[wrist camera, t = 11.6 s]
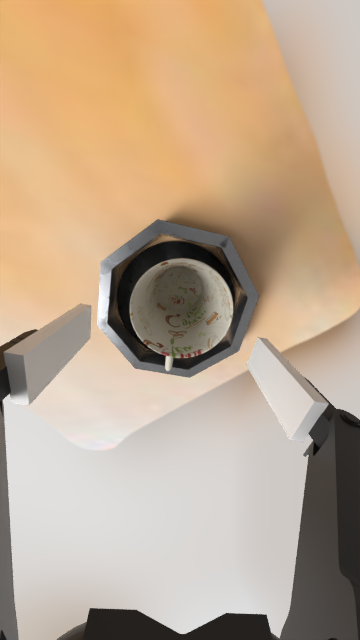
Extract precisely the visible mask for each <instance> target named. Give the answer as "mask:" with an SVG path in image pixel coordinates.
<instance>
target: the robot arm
mask: <svg viewBox="0 0 360 640" xmlns="http://www.w3.org/2000/svg"><path fill="white" fill-rule="evenodd" d="M90 330H91V305H86V304H79V305H78V306H76V307H75V308H73V309H71V310H70V311H68V312H67V313H65V314H63V315H62V316H60V317H59V318H57V319H55V320H54V321H52V322H51V323H49V324H47V325H46V326H44V327H43V328H41V329H40V330H35V329H34V330H31V331H28V332H25V333H23V334H21V335H19V336H18V337H16V338H14V339H12V340H11V341H10V342H7V343H6V344H4V345H2V346H0V640H18V630H17V619H16V611H15V604H14V591H13V590H14V589H13V571H12V553H11V535H10V516H9V498H8V480H7V461H6V445H5V444H6V443H5V427H4V426H5V425H4V406H3V401H2V400H3V399H4V398H5V397H6V396H7V395H8V394H10V396H11V402H12V403H17V404H24V405H30V404H31V403H32V402H33V401H34V399H35V398H36V397H37V396H38V395H39V394H40V393H41V392H42V391H43V390H44V388H45V387H46V386H47V385H48V384H49V383H50V382H51V381H52V380H53V379H54V377H55V376H56V375H57V374H58V373H59V372H60V371H61V370H62V369H63V368H64V366H65V365H66V364H67V363H68V362H69V361H70V360H71V359H72V358H73V357H74V355H75V354H76V353H77V352H78V351H79V350H80V349H81V348H82V347H83V346H84V344H85V343H86V342H87V341H88V340H89V339H90ZM247 367H248V369H249V370H250V372H251V374H252V375H253V377H254V379H255V381H256V383H257V384H258V386H259V388H260V389H261V391H262V393H263V394H264V396H265V398H266V400H267V401H268V403H269V405H270V407H271V408H272V410H273V412H274V414H275V415H276V417H277V419H278V420H279V422H280V424H281V426H282V427H283V429H284V431H285V432H286V434H287V436H288V438H289V439H290V440H292V441H299V442H303V441H304V440H305V438H306V437H307V436H308V434H309V435H310V436H311V438H312V439H313V442H312V443H311V445H310V446H309V447H308V449H307V450H306V452H305V453H304V456H305V457H306V455H309V457H308V466H307V475H306V482H305V490H304V499H303V507H302V515H301V524H300V532H299V540H298V549H297V557H296V565H295V575H294V583H293V591H292V599H291V606H290V611H289V614H288V617H287V619H286V622H285V624H284V627H283V629H282V632H281V636H280V639H279V638H278V637H276V636H275V635H274V634H272V633H271V631H270V627H269V623H268V619H267V615H262V614H234V613H226V614H224V615H222V616H220V617H218V618H216V619H214V620H212V621H210V622H208V623H206V624H204V625H202V626H201V627H198V628H197V629H195V630H193V631H191V632H189V633H187V634H179V633H177V632H175V631H173V630H172V629H170V628H168V627H166V626H164V625H163V624H161V623H159V622H157V621H155V620H154V619H152V618H150V617H148V616H146V615H145V614H143V613H141V612H139V611H137V610H123V609H122V610H121V609H95V608H90V611H89V615H88V619H87V622H86V623H83V624H81V625H79V626H77V627H75V628H73V629H72V630H70V631H68V632H67V633H65V634H64V635H62V636H61V637H59V638H58V639H57V640H360V420H359V419H358V418H357V417H355V416H354V415H352V414H350V413H349V412H346V411H344V410H341V409H336V408H335V407H334V406H333V405H332V404H331V403H330V402H329V401H328V400H327V399H326V398H325V397H324V396H323V395H322V394H321V393H319V391H318V390H317V389H316V388H314V386H313V385H312V383H311V382H310V381H309V380H307V379H306V378H304V377H303V376H302V375H301V374H300V373H299V372H298V371H297V370H296V369H295V368H294V367H293V366H292V365H291V364H290V363H289V361H288V360H287V359H286V358H285V357H284V356H283V355H282V354H281V353H280V352H279V351H278V350H277V349H276V348H275V347H274V346H273V345H272V344H271V343H270V342H269V341H268V339H265V338H260V337H258V338H257V341H256V343H255V346H254V348H253V351H252V353H251V355H250V358H249V360H248V363H247Z"/></svg>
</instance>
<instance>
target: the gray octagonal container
mask: <svg viewBox="0 0 360 640" xmlns="http://www.w3.org/2000/svg"><path fill="white" fill-rule="evenodd" d="M162 235H164V236H169V237H173V238H177V239H181V240H186V241H190V242H194V243H199V244H203V245H207V246H212V247H216V248H217V250H218V252H219V254H220V256H221V258H222V260H223V261H224V263H225V265H226V267H227V269H228V271H229V273H230V274H231V276H232V278H233V280H234V282H235V284H236V286H237V287H238V289H239V291H240V294H239V297H238V300H237V303H236V306H235V309H234V303H235V294H234V287H233V283H232V280H231V278H230V275H229V273H228V271H227V270H226V268H225V267H224V265H223V264H222V263H221V262H220V260H219V259H218V258H217V257H215V256H214V255H213V254H212V253H210V252H209V251H207V250H206V249H204V248H202V247H200V246H197V245H194V244H191V243H186V242H165V243H161V244H157V245H155V246H152V247H150V248H148V249H146V250H145V251H143V252H141V253H140V254H139V255H138V256H136V257H135V258H134V259H133V260H132V261H131V263H130V264H129V265H128V267H127V268H126V269H125V271H124V273H123V275H122V277H121V280H120V283H119V288H118V296H117V286H118V276H119V266H121V265H122V264H124V263H125V262H126V261H128V260H129V259H130V258H132V257H133V256H135V255H136V254H137V253H139V252H140V251H142V250H143V249H144V248H146V247H147V246H148V245H150V244H151V243H153V242H154V241H155V240H157V239H158V238H159V237H161V236H162ZM178 258H185V259H193V260H197V261H200V262H202V263H205V264H207V265H208V266H210V267H211V268H213V269H214V270H215V271H217V272H218V273H219V274H220V275H221V276H222V278H223V279H224V280H225V282H226V283H227V285H228V287H229V289H230V292H231V295H232V299H233V310H234V312H233V317H232V321H231V324H230V327H229V329H228V331H227V334H226V336H225V337H223V338H222V340H221V341H220V342H219V343H218V344H217V345H216V346H214V347H213V348H212V349H210V350H209V351H207V352H205V353H203V354H200V355H197V356H194V357H188V358H174V357H173V363H172V367H171V370H170V371H166V369H165V361H166V356H165V355H162V354H160V353H156V351H155V352H151V351H145V350H143V349H142V348H141V346H140V345H139V344H138V343H137V342H136V340H137V341H138V342H139V343H140V344H142V345H143V346H145V347H146V348H148V349H150V350H152V349H151V348H149V347H148V346H147V345H146V344H145V343H144V342H143V341H142V340H141V339H140V338H139V337H138V335H137V334H136V332H135V330H134V328H133V325H132V322H131V318H130V299H131V295H132V292H133V290H134V287H135V285H136V284H137V282H138V281H139V279H140V278H141V277H142V276H143V275H144V274H145V273H146V272H147V271H148V270H149V269H150V268H152V267H153V266H155V265H157V264H159V263H161V262H164V261H167V260H171V259H178ZM116 297H117V302H118V309H119V313H120V316H121V319H122V322H123V323H124V325H125V327H126V328H125V327H124V326H123V325H122V323H121V322H120V321H119V320H118V318H117V317H116V316H115V307H116ZM258 298H259V294H258V292H257V290H256V289H255V287H254V285H253V283H252V281H251V279H250V277H249V275H248V273H247V271H246V269H245V267H244V265H243V263H242V261H241V259H240V257H239V255H238V253H237V251H236V249H235V247H234V245H233V243H232V241H231V239H230V237H229V236H225V235H221V234H217V233H213V232H209V231H204V230H200V229H196V228H192V227H188V226H184V225H179V224H175V223H171V222H167V221H163V220H159V219H158V220H156V221H155V222H154V223H152V224H151V225H150V226H148V227H147V228H146V229H144V230H143V231H142V232H140V233H139V234H138V235H136V236H135V237H134V238H132V239H131V240H130V241H128V242H127V243H126V244H124V245H123V246H122V247H120V248H119V249H118V250H116V251H115V252H114V253H112V254H111V255H110V256H108V257H107V258H105V259H104V260H103V261H101V268H100V285H99V301H98V317H97V326H98V327H99V328H100V329H101V330H102V331H103V332H104V334H105V335H106V336H107V337H108V338H109V339H110V340H111V342H112V343H113V344H114V345H115V346H116V347H117V348H118V349H119V351H120V352H121V353H122V354H123V355H124V356H125V357H126V359H127V360H128V361H129V362H130V363H131V364H132V365H133V367H134V368H136V369H142V370H147V371H153V372H159V373H165V374H171V375H177V376H183V377H189V378H190V377H192V376H194V375H195V374H197V373H199V372H201V371H203V370H205V369H207V368H208V367H210V366H212V365H214V364H216V363H218V362H220V361H221V360H223V359H225V358H227V357H229V356H231V355H233V354H234V353H236V352H238V351H239V349H240V346H241V344H242V341H243V338H244V336H245V333H246V330H247V327H248V325H249V322H250V319H251V317H252V314H253V311H254V308H255V306H256V303H257V300H258ZM127 330H128V331H129V332H128V331H127ZM132 336H133V337H134V338H135V339H136V340H135V339H134V338H133V337H132ZM153 351H154V350H153Z"/></svg>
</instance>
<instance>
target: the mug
mask: <svg viewBox="0 0 360 640" xmlns="http://www.w3.org/2000/svg"><path fill="white" fill-rule="evenodd" d="M232 317H233V299H232V295H231V292H230V289H229V287H228V285H227V283H226V282H225V280H224V279H223V278H222V276H221V275H220V274H219V273H218V272H217V271H215V270H214V269H213V268H211V267H210V266H208V265H207V264H205V263H202V262H200V261H197V260H193V259H185V258H178V259H171V260H167V261H164V262H161V263H159V264H157V265H155V266H153V267H152V268H150V269H149V270H148V271H147V272H146V273H145V274H144V275H143V276H142V277H141V278H140V279H139V281H138V282H137V284H136V285H135V287H134V290H133V292H132V295H131V299H130V318H131V322H132V325H133V328H134V330H135V332H136V334H137V335H138V337H139V338H140V339H141V340H142V341H143V342H144V343H145V344H146V345H147V346H148V347H149V348H151V349H152V350H154V351H156V352H157V353H160V354H162V355H165V356H166V361H165V369H166V371H170V370H171V367H172V363H173V357H174V358H188V357H194V356H197V355H200V354H203V353H205V352H207V351H209V350H210V349H212V348H213V347H214V346H216V345H217V344H218V343H219V342H220V341H221V340H222V338H223V337H224V336H225V334H226V333H227V331H228V329H229V327H230V324H231V321H232Z"/></svg>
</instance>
